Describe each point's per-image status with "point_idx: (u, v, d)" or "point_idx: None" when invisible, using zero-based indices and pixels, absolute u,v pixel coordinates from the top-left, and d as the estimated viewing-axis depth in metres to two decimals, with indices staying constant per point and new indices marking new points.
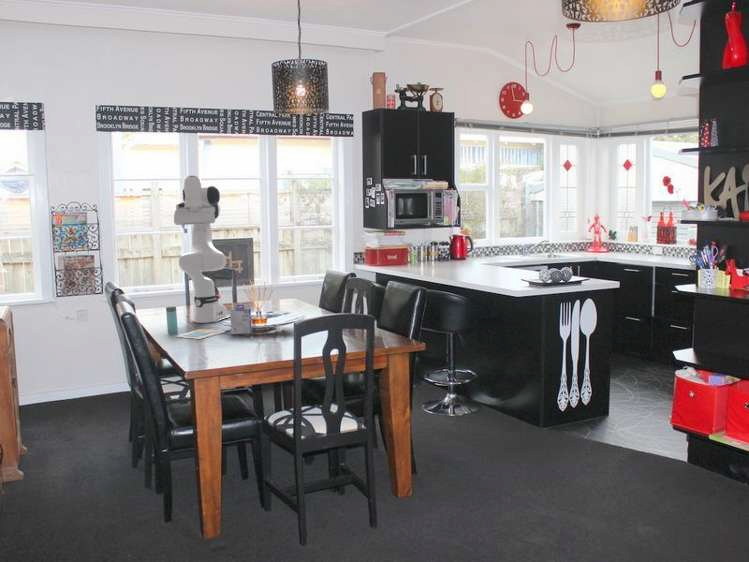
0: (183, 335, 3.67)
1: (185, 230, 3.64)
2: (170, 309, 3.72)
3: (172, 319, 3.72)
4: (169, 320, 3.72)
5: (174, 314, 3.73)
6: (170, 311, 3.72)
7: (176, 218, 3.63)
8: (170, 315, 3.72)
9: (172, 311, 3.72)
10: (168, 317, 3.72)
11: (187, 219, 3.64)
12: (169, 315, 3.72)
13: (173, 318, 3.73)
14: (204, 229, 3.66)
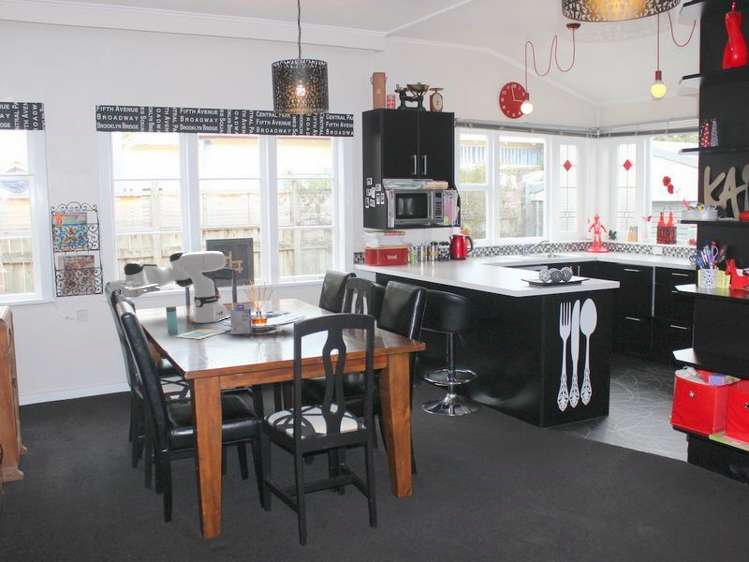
0: (183, 335, 3.67)
1: (143, 290, 3.75)
2: (170, 309, 3.72)
3: (172, 319, 3.72)
4: (169, 320, 3.72)
5: (174, 314, 3.73)
6: (170, 311, 3.72)
7: (129, 288, 3.75)
8: (170, 315, 3.72)
9: (172, 311, 3.72)
10: (168, 317, 3.72)
11: (138, 287, 3.79)
12: (169, 315, 3.72)
13: (173, 318, 3.73)
14: (157, 287, 3.83)
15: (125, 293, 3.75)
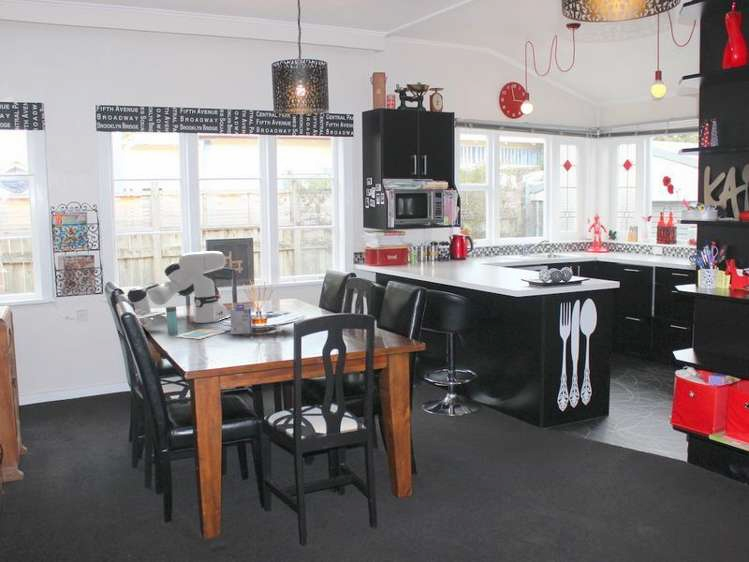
0: (183, 335, 3.67)
1: (150, 318, 3.75)
2: (170, 309, 3.72)
3: (172, 319, 3.72)
4: (169, 320, 3.72)
5: (174, 314, 3.73)
6: (170, 311, 3.72)
7: None
8: (170, 315, 3.72)
9: (172, 311, 3.72)
10: (168, 317, 3.72)
11: (144, 315, 3.79)
12: (169, 315, 3.72)
13: (173, 318, 3.73)
14: (163, 315, 3.83)
15: None
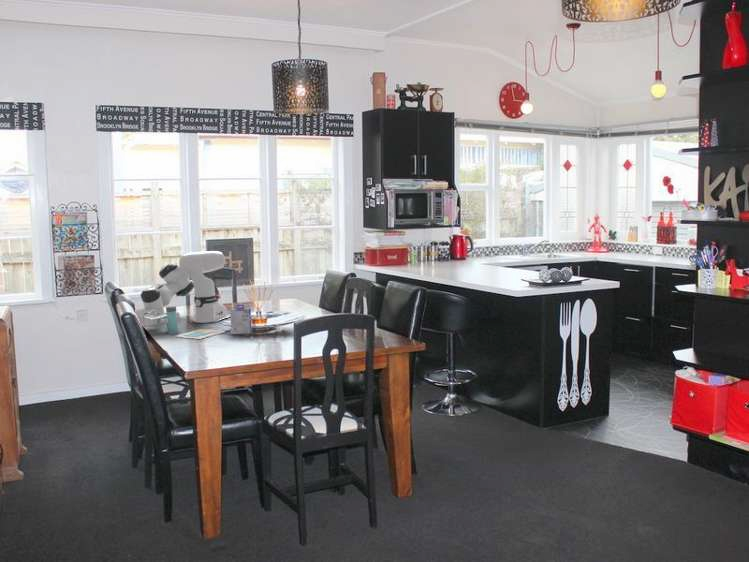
0: (183, 335, 3.67)
1: None
2: (170, 309, 3.72)
3: (172, 319, 3.72)
4: (169, 320, 3.72)
5: (174, 314, 3.73)
6: (170, 311, 3.72)
7: (150, 318, 3.70)
8: (170, 315, 3.72)
9: (172, 311, 3.72)
10: (168, 317, 3.72)
11: (158, 316, 3.74)
12: (169, 315, 3.72)
13: (173, 318, 3.73)
14: None
15: (146, 323, 3.71)
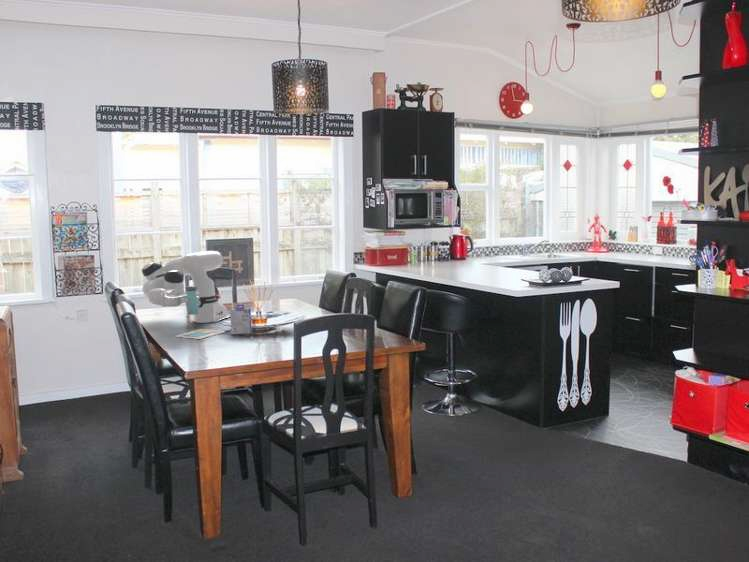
0: (183, 335, 3.67)
1: (187, 298, 3.63)
2: (191, 288, 3.63)
3: (192, 299, 3.64)
4: None
5: (195, 293, 3.64)
6: (191, 290, 3.63)
7: (170, 297, 3.61)
8: (190, 295, 3.63)
9: (192, 290, 3.63)
10: (188, 297, 3.64)
11: (178, 296, 3.65)
12: (189, 294, 3.63)
13: (193, 298, 3.64)
14: None
15: (166, 302, 3.62)
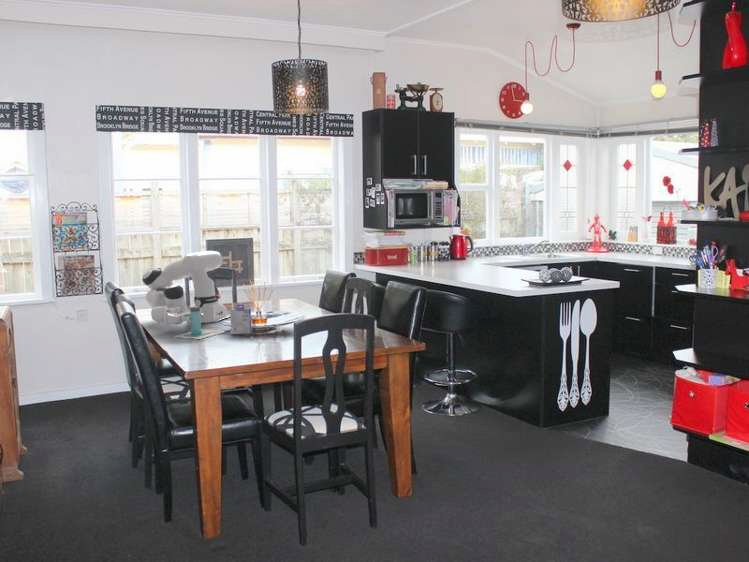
0: (183, 335, 3.67)
1: (188, 316, 3.63)
2: (195, 308, 3.64)
3: (196, 319, 3.65)
4: (193, 320, 3.65)
5: (198, 314, 3.66)
6: (194, 311, 3.64)
7: (173, 315, 3.62)
8: (194, 316, 3.65)
9: (196, 311, 3.65)
10: (192, 317, 3.65)
11: (182, 314, 3.67)
12: (193, 315, 3.65)
13: (197, 318, 3.65)
14: (201, 313, 3.71)
15: (169, 320, 3.63)
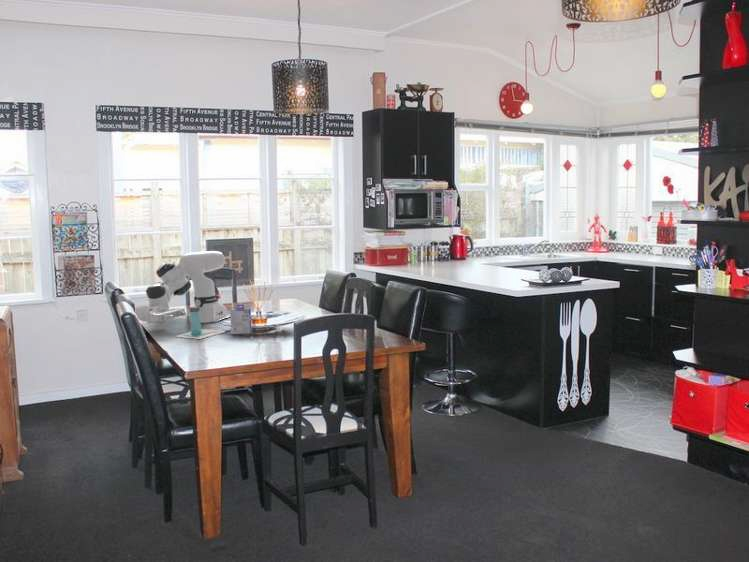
0: (183, 335, 3.67)
1: (170, 315, 3.69)
2: (194, 309, 3.64)
3: (196, 319, 3.65)
4: (193, 320, 3.65)
5: (198, 314, 3.65)
6: (194, 311, 3.64)
7: (155, 314, 3.68)
8: (194, 316, 3.64)
9: (196, 311, 3.64)
10: (192, 317, 3.65)
11: (164, 312, 3.73)
12: (193, 315, 3.64)
13: (197, 318, 3.65)
14: (183, 312, 3.77)
15: (151, 319, 3.69)
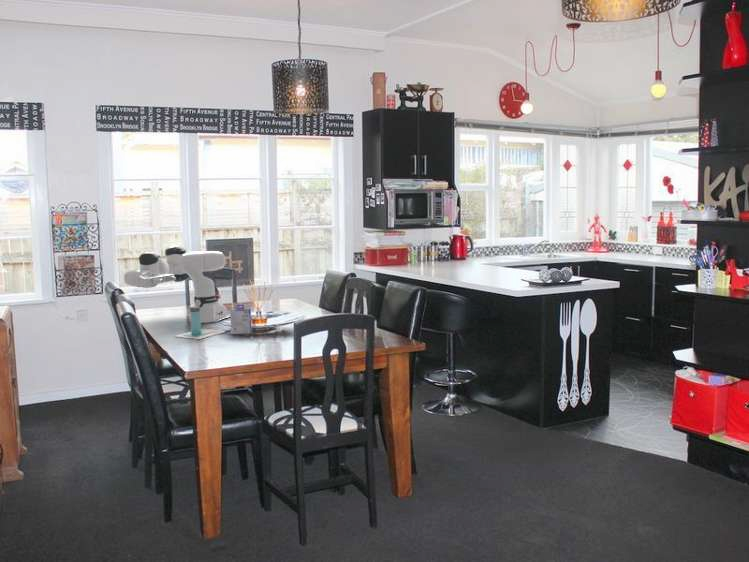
0: (183, 335, 3.67)
1: (159, 279, 3.69)
2: (194, 309, 3.64)
3: (196, 319, 3.65)
4: (193, 320, 3.65)
5: (198, 314, 3.65)
6: (194, 311, 3.64)
7: (144, 277, 3.69)
8: (194, 316, 3.64)
9: (196, 311, 3.64)
10: (192, 317, 3.65)
11: (153, 276, 3.73)
12: (193, 315, 3.64)
13: (197, 318, 3.65)
14: (172, 277, 3.77)
15: (140, 282, 3.69)
